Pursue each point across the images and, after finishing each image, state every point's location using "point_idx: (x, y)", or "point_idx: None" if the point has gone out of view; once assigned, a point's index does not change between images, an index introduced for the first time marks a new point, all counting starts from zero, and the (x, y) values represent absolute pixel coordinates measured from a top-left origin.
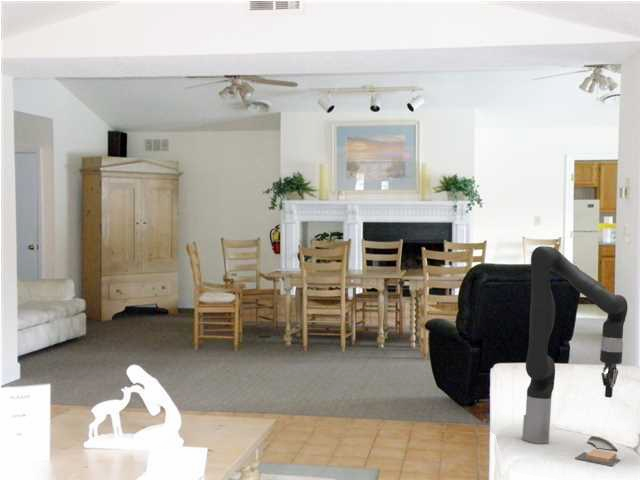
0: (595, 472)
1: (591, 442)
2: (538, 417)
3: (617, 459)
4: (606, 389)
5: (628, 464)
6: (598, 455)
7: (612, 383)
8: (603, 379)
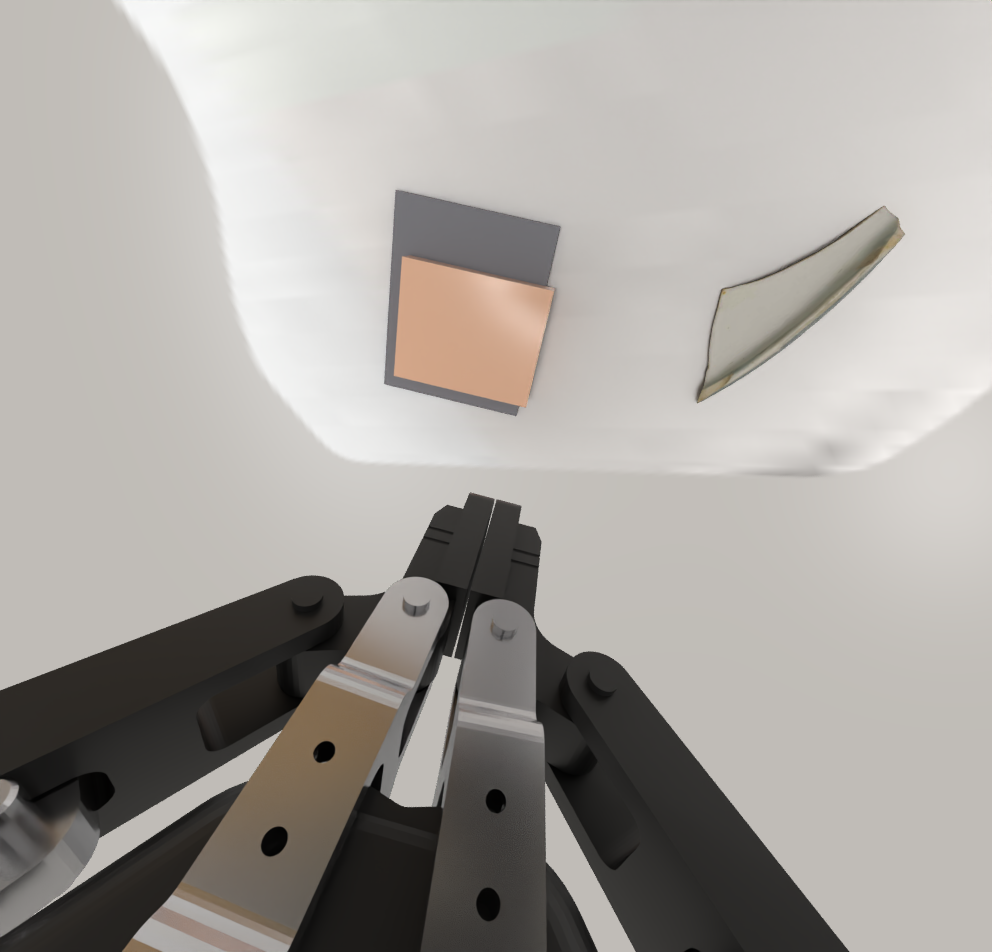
0: (244, 319)
1: (827, 250)
2: None
3: (505, 404)
4: (412, 566)
5: (471, 445)
6: (428, 323)
7: (414, 721)
8: (92, 674)
